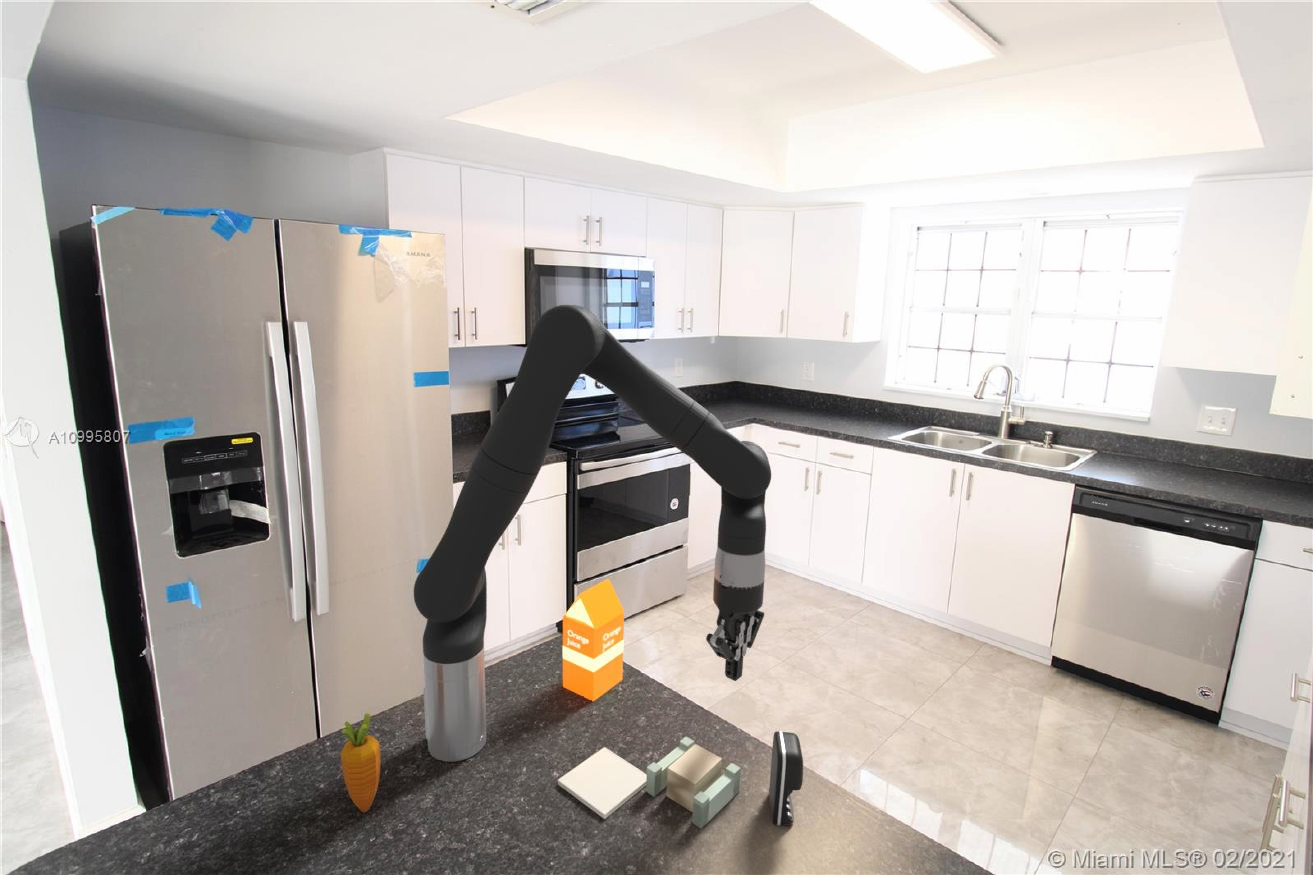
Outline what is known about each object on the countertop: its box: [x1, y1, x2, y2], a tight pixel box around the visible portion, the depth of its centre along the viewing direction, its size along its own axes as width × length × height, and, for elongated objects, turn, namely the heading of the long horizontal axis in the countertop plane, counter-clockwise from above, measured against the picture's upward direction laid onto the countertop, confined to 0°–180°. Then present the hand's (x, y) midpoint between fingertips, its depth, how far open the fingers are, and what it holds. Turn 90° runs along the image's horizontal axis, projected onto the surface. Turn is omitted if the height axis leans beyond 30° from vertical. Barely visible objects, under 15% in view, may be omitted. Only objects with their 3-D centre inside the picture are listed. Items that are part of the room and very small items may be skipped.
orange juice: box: [562, 578, 625, 702], centre depth 124 cm, size 8×9×20 cm
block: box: [666, 743, 723, 813], centre depth 100 cm, size 5×7×5 cm
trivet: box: [557, 746, 647, 820], centre depth 101 cm, size 10×10×1 cm
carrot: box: [340, 713, 381, 813], centre depth 93 cm, size 5×5×15 cm
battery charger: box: [768, 730, 804, 826], centre depth 96 cm, size 7×4×11 cm, turn 175°
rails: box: [645, 736, 741, 829], centre depth 100 cm, size 10×10×4 cm
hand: (733, 677), depth 104 cm, fingers closed
